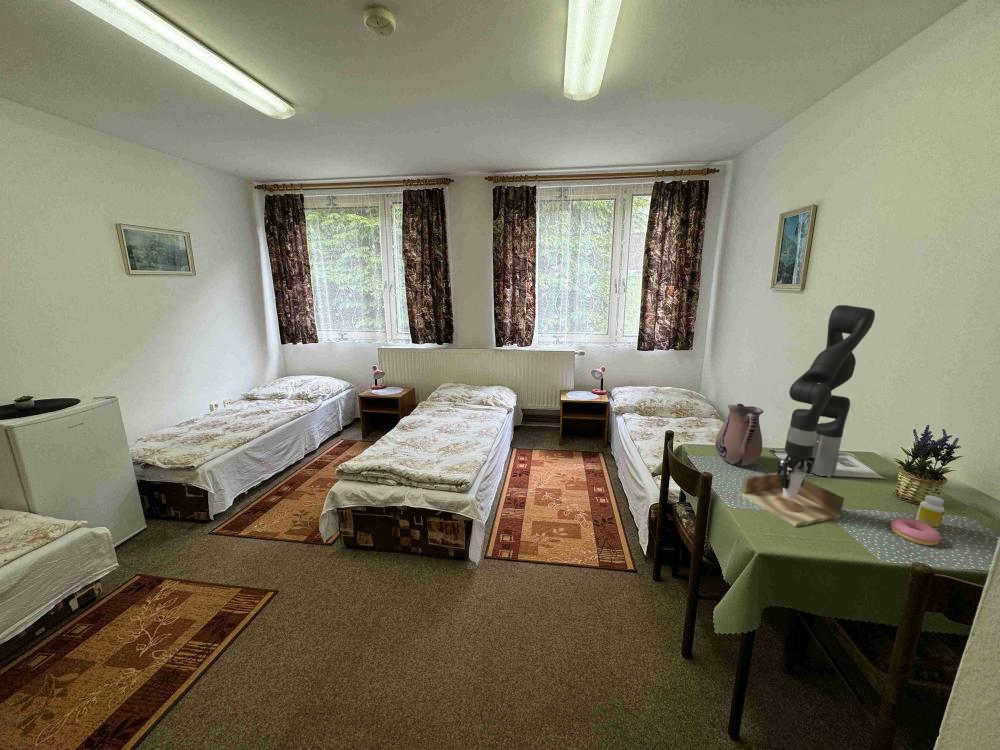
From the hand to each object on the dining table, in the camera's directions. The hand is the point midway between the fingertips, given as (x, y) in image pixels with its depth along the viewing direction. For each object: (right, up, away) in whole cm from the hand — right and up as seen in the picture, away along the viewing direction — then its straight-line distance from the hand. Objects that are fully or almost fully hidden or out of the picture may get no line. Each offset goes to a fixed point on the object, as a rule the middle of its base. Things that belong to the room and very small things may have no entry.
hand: (791, 486), depth 134 cm
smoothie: (0, -4, +1) cm, 4 cm away
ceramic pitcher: (+4, -1, +37) cm, 37 cm away
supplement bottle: (+39, -11, -7) cm, 41 cm away
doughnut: (+29, -12, -12) cm, 34 cm away
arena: (+1, -8, +3) cm, 9 cm away
